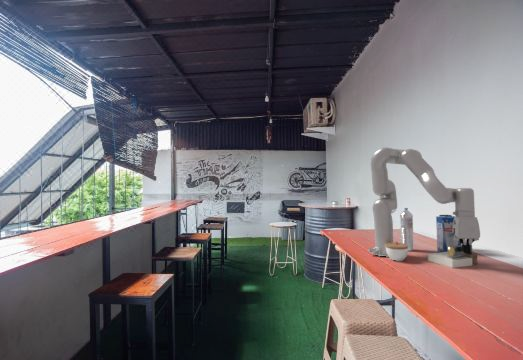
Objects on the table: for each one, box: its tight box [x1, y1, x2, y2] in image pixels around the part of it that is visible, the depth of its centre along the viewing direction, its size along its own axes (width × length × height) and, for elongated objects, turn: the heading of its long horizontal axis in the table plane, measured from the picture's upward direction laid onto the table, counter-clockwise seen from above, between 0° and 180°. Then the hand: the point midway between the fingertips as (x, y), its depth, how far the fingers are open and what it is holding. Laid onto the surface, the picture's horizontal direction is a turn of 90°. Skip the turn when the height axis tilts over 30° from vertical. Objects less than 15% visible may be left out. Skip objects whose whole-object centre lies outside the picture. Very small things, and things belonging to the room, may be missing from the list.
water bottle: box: [399, 207, 415, 252], centre depth 173 cm, size 7×7×25 cm
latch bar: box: [447, 244, 473, 256], centre depth 141 cm, size 16×4×4 cm, turn 114°
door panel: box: [427, 252, 473, 269], centre depth 144 cm, size 12×14×4 cm
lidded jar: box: [385, 241, 409, 262], centre depth 152 cm, size 11×11×9 cm
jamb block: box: [462, 252, 478, 266], centre depth 143 cm, size 4×6×5 cm, turn 15°
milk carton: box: [435, 215, 462, 253], centre depth 166 cm, size 10×6×20 cm, turn 88°
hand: (466, 252), depth 137 cm, fingers closed
